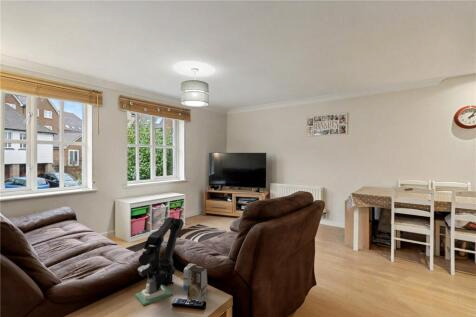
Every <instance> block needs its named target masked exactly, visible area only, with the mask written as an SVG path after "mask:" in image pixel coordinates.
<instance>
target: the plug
mask: <svg viewBox="0 0 476 317" xmlns="http://www.w3.org/2000/svg"><path fill="white" fill-rule="evenodd" d="M145 289H146V294H152V293H155V292H158V291H160V290H161V286H160V288H159V290H156V283H155V281H154V280H153V278H147V281H146V284H145Z"/></svg>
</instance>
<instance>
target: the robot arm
mask: <svg viewBox="0 0 476 317" xmlns="http://www.w3.org/2000/svg"><path fill="white" fill-rule="evenodd" d="M184 223H185V222H184V220H183V219H182V218H176V217H172V216H171V217H166V219H165V221H164V222H163V223H162V225H160V227H159V228H158V229H157V230H156V231H153V232H151V233H150V234H149V235H148V236H147V240H146V242H145V245H144V246H143V251H142V254H141V255H139V257H138V262H139V264H140V266H139V267H138V268H137V272H138V274H139V275H140V276H141V277H142V278H143V277H144V276H147V279H149V278H153V280H154V281H155V283H156V290H159V288H160V286H161V285H164V286H165V287H167V286H170V285H173V284H174V281H173V279H174V278H173V275H175V272H176V266H174V260H173V256H174V250H175V246H176V243H177V239H178V235H179V233H180V232H181V231H182V229H183V227H184ZM168 232H170V233H169V236H168V239H167V244H166V247H165V251H164V254H163V256H162V257H161V248H163V245H162V244H163V242H164V240H165V239H164V238H165V236H166V234H167V233H168Z"/></svg>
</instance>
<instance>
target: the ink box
mask: <svg viewBox="0 0 476 317" xmlns="http://www.w3.org/2000/svg"><path fill="white" fill-rule="evenodd" d="M193 265H197V264H195V263H188V264H187V265H186V266H185V267H184V269H183V286H182V287H183V290H184V291H188V269H189V268H190V267H191V266H193Z"/></svg>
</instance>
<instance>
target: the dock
mask: <svg viewBox="0 0 476 317" xmlns="http://www.w3.org/2000/svg"><path fill="white" fill-rule="evenodd" d="M171 296H173V292H172V291H171V290H170V289H169V288H168V287H167V286H164V285H161V290H160V291H158V292H155V293H152V294H146V288H145V289H142V290H141V291H140V292H137V293H135V294H134V297H136V299H137V300H138V302H139V303H140V304H141V305H142V306H143V307H145V306H147V305H149V304H152V303H155V302H158V301H160V300H163V299H165V298H168V297H171Z"/></svg>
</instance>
